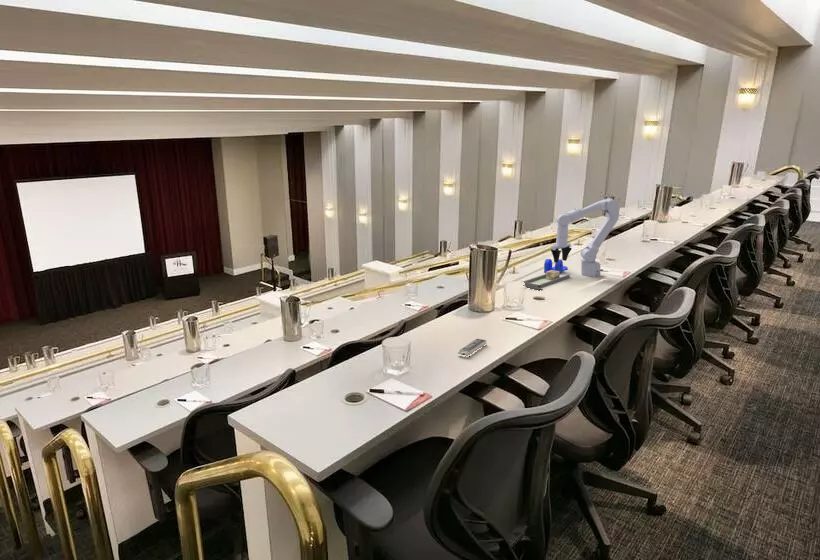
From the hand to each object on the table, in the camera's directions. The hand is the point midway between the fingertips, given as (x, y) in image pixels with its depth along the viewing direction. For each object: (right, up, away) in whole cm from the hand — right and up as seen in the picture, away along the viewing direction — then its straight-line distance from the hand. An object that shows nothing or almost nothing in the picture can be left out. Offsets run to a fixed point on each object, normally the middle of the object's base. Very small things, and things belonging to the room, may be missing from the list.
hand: (560, 261), depth 286 cm
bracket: (+3, -6, +16) cm, 17 cm away
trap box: (-10, -12, -7) cm, 17 cm away
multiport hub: (-59, -37, -90) cm, 114 cm away
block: (-5, -9, -3) cm, 11 cm away
